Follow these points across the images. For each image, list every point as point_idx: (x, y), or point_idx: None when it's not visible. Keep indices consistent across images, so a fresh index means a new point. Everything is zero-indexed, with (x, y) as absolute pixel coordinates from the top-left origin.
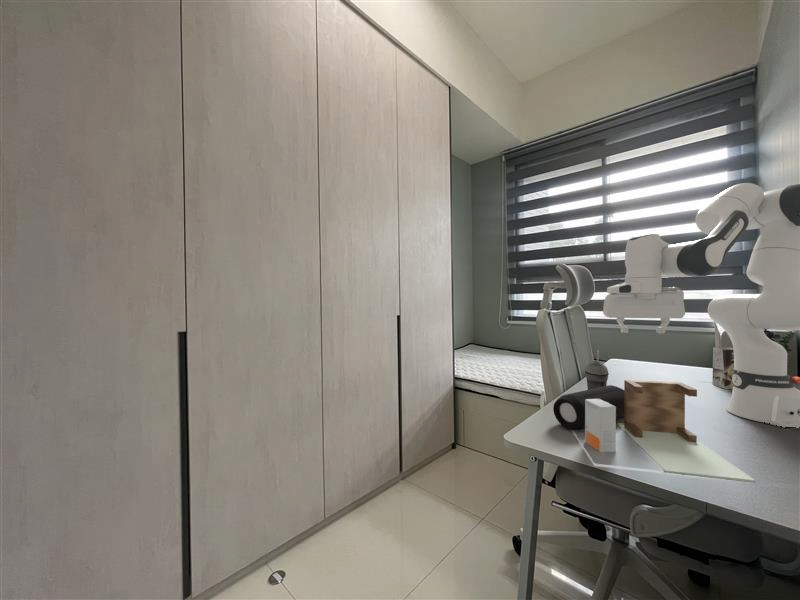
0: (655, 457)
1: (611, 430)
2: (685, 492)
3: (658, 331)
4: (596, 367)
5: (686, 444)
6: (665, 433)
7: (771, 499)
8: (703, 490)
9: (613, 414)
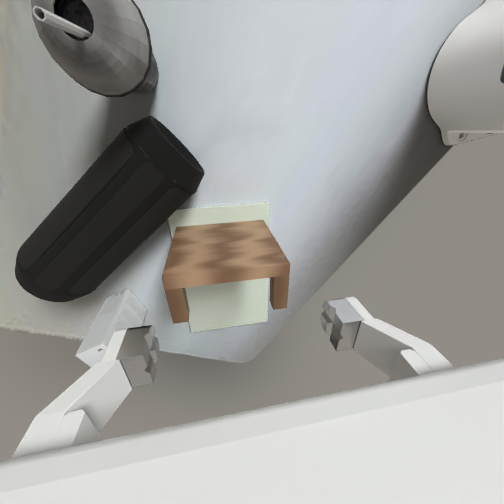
0: (191, 310)
1: None
2: (196, 352)
3: (326, 323)
4: (84, 76)
5: None
6: None
7: (260, 338)
8: (213, 345)
9: None
